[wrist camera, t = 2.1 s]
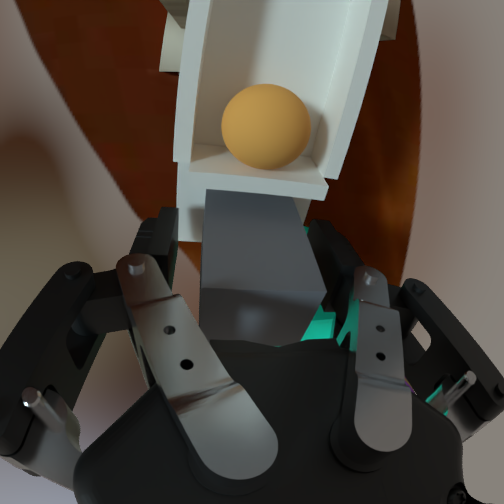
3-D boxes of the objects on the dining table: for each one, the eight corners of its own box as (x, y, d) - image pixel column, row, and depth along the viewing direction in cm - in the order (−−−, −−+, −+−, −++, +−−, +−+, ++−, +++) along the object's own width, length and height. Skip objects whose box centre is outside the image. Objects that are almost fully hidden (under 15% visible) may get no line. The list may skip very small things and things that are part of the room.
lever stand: (179, -32, 11) (155, -99, 4) (341, -6, 13) (423, -39, 6) (161, 71, 16) (114, 69, 8) (324, 91, 18) (401, 112, 10)
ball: (228, 66, 9) (227, 100, 7) (310, 80, 9) (333, 118, 8) (218, 134, 11) (215, 183, 9) (290, 143, 12) (303, 192, 10)
